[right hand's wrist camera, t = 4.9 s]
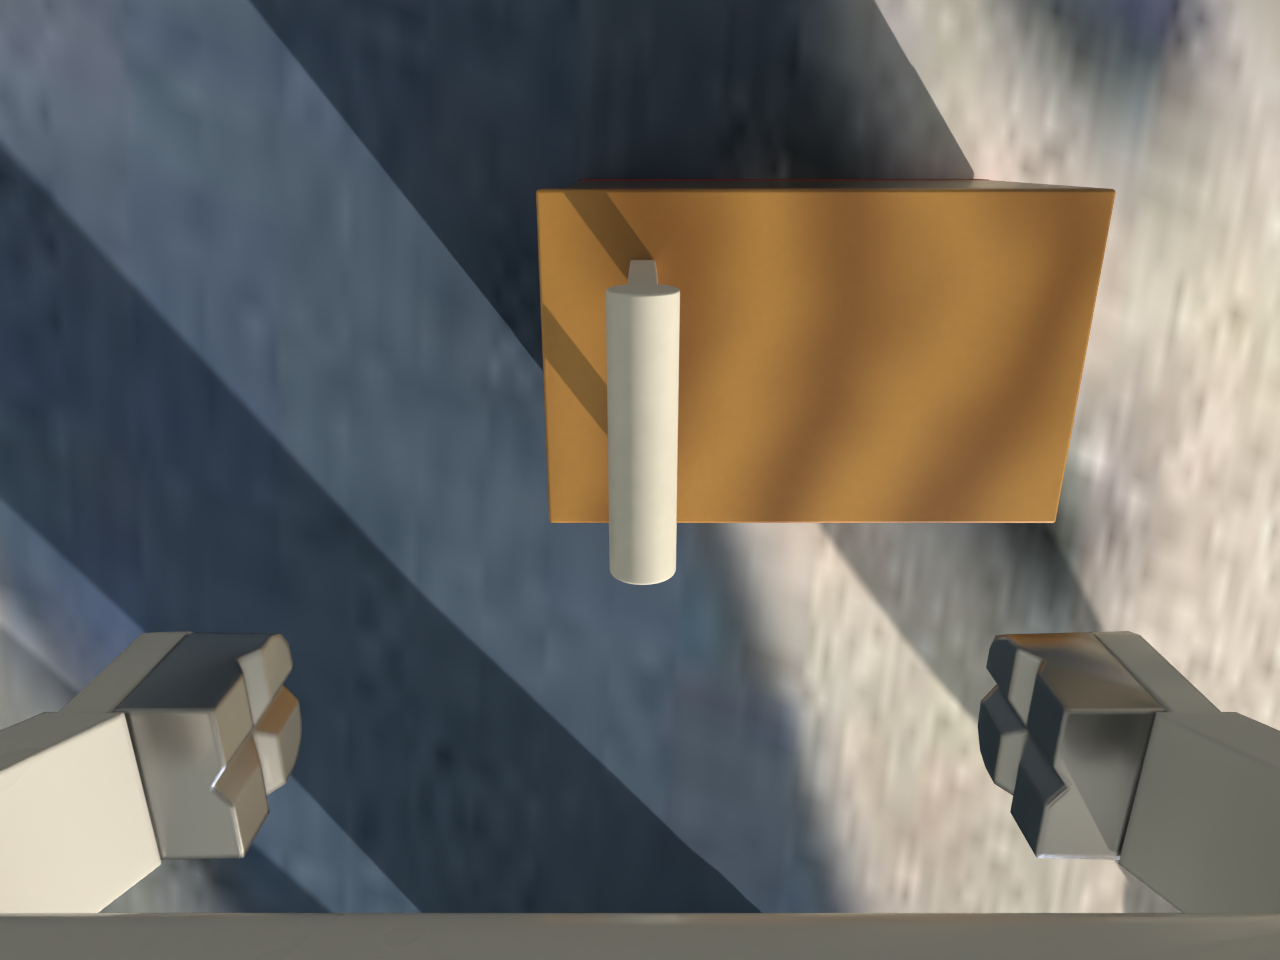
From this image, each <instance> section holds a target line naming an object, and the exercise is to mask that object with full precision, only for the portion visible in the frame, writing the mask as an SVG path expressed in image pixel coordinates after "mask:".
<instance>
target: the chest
mask: <svg viewBox="0 0 1280 960" xmlns="http://www.w3.org/2000/svg"><path fill="white" fill-rule="evenodd" d="M564 188H1090V187H1076V186H1062V185H1048V184H1034V183H1020V182H1006V181H992V180H984V179H581V180H579V182H577V183H574V184H572V185H569V186H567V187H564Z"/></svg>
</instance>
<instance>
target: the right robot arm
mask: <svg viewBox="0 0 1280 960" xmlns="http://www.w3.org/2000/svg"><path fill="white" fill-rule="evenodd" d="M293 668H294V667H293V662H292V657H291V652H290V647H289V642H288V641H287V640H286V639H285V638H284V637H283V636H282V635H281V634H267V633H215V632H195V633H193V632H190V631H183V632H151V633H145V634H141V635H140V636H139V637H138V638H137V639H136V640H135V641H134V642H133V643H131V644H130V645H129V646H128V647H127V648H126V649H125V650H124V651H123V652H122V653H121V654H120V655H119V656H118V657H117V658H116V659H115V660H113V661H112V662H111V663H110V664H109V665H108V666H107V667H106V668H105V669H104V670H103V671H102V672H101V673H100V674H99V675H98V676H97V677H95V678H94V679H93V680H92V681H91V682H90V683H89V684H88V685H87V686H86V687H85V688H84V689H83V690H82V691H81V692H80V693H79V694H77V695H76V696H75V697H74V698H73V699H72V700H71V701H70V702H69V703H68V704H67V705H66V706H65V707H64V708H63V709H62V710H60V711H59V712H43V713H41V714H39V715H36V716H34V717H32V718H29V719H27V720H25V721H22V722H20V723H18V724H15V725H13V726H11V727H8V728H6V729H3V730H1V731H0V960H1280V731H1279V730H1276V729H1274V728H1272V727H1269V726H1267V725H1265V724H1262V723H1260V722H1258V721H1255V720H1253V719H1251V718H1248V717H1246V716H1244V715H1241V714H1239V713H1237V712H1221V711H1220V710H1219V709H1217V708H1216V707H1215V706H1214V705H1213V704H1212V703H1211V702H1210V701H1209V700H1208V699H1207V698H1206V697H1205V696H1204V695H1203V694H1202V693H1201V692H1200V691H1198V690H1197V689H1196V688H1195V687H1194V686H1193V685H1192V684H1191V683H1190V682H1189V681H1188V680H1187V679H1186V678H1185V677H1184V676H1183V675H1182V674H1180V673H1179V672H1178V671H1177V670H1176V669H1175V668H1174V667H1173V666H1172V665H1171V664H1170V663H1169V662H1168V661H1167V660H1166V659H1165V658H1164V657H1163V656H1161V655H1160V654H1159V653H1158V652H1157V651H1156V650H1155V649H1154V648H1153V647H1152V646H1151V645H1150V644H1149V643H1148V642H1147V641H1146V640H1145V639H1144V638H1142V637H1141V636H1140V635H1138V634H1135V633H1132V632H1129V631H1118V632H1093V633H1092V632H1087V633H1047V634H1007V635H997V636H995V638H994V641H993V643H992V645H991V647H990V650H989V656H988V661H987V667H986V668H987V669H988V671H989V672H990V674H991V675H992V677H993V678H994V680H995V682H996V683H997V685H996V686H995V687H994V688H993V689H992V690H991V691H990V692H989V693H988V694H987V695H986V696H985V697H984V698H983V699H982V700H981V705H980V713H979V721H978V733H979V743H980V751H981V754H982V758H983V761H984V764H985V767H986V769H987V771H988V773H989V775H990V776H991V778H992V780H993V782H994V784H996V785H997V786H999V787H1001V788H1002V789H1004V790H1005V791H1007V792H1008V793H1010V794H1011V795H1013V800H1012V806H1011V814H1012V816H1013V817H1014V819H1015V821H1016V823H1017V824H1018V826H1019V828H1020V830H1021V831H1022V833H1023V835H1024V837H1025V838H1026V840H1027V842H1028V843H1029V845H1030V847H1031V849H1032V850H1033V852H1034V854H1035V856H1036V857H1037V858H1064V859H1101V860H1119V863H1118V864H1120V865H1121V866H1122V867H1123V868H1125V869H1126V870H1127V871H1129V872H1130V873H1131V874H1133V875H1134V876H1135V877H1136V878H1138V879H1139V880H1140V881H1142V882H1143V883H1144V884H1146V885H1147V886H1148V887H1149V888H1151V889H1152V890H1153V891H1155V892H1156V893H1157V894H1159V895H1160V896H1161V897H1162V898H1164V899H1165V900H1166V901H1168V902H1169V903H1170V904H1172V905H1173V906H1174V907H1175V908H1177V909H1178V910H1179V911H1181V912H1182V913H98V912H100V911H101V910H102V909H103V908H105V907H106V906H107V905H109V904H110V903H111V902H113V901H114V900H115V899H117V898H118V897H119V896H120V895H122V894H123V893H124V892H126V891H127V890H128V889H130V888H131V887H132V886H133V885H135V884H136V883H137V882H139V881H140V880H141V879H143V878H144V877H145V876H146V875H148V874H149V873H150V872H152V871H153V870H154V869H156V868H157V867H158V866H160V865H161V860H179V859H214V858H244V856H245V854H246V852H247V851H248V849H249V847H250V845H251V844H252V842H253V840H254V838H255V837H256V835H257V833H258V831H259V830H260V828H261V826H262V824H263V823H264V821H265V819H266V817H267V816H268V814H269V806H268V800H267V795H269V794H270V793H272V792H273V791H275V790H276V789H278V788H279V787H281V786H283V785H284V784H286V782H287V780H288V778H289V776H290V775H291V773H292V771H293V769H294V767H295V765H296V761H297V757H298V753H299V748H300V744H301V739H302V717H301V711H300V704H299V700H298V699H297V698H296V697H295V696H294V695H293V694H292V693H291V692H290V691H289V690H288V689H287V688H286V687H285V686H284V685H283V683H284V682H285V680H286V678H287V677H288V675H289V674H290V672H291V671H292V669H293Z"/></svg>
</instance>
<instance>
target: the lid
mask: <svg viewBox="0 0 1280 960" xmlns="http://www.w3.org/2000/svg"><path fill="white" fill-rule="evenodd" d="M1114 197H1115V190H1113V189H1104V188H557V189H539V190H537V191H536V208H537V232H538V257H539V281H540V305H541V330H542V354H543V379H544V403H545V428H546V452H547V477H548V501H549V520H550V522H609V554H610V572H611V574H612V575H613V576H614V577H615V578H616V579H618V580H620V581H623V582H626V583H630V584H638V585H647V584H655V583H660V582H663V581H665V580H667V579H669V578H671V577H672V576H673V574H674V573H675V570H676V523H1054V522H1055V520H1056V514H1057V509H1058V503H1059V498H1060V492H1061V487H1062V481H1063V476H1064V471H1065V465H1066V460H1067V454H1068V449H1069V443H1070V438H1071V432H1072V427H1073V421H1074V416H1075V410H1076V405H1077V399H1078V394H1079V389H1080V383H1081V378H1082V372H1083V367H1084V361H1085V356H1086V350H1087V345H1088V339H1089V334H1090V328H1091V323H1092V317H1093V312H1094V307H1095V301H1096V296H1097V290H1098V285H1099V279H1100V274H1101V268H1102V263H1103V257H1104V252H1105V246H1106V241H1107V236H1108V230H1109V225H1110V219H1111V214H1112V208H1113V203H1114Z"/></svg>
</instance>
